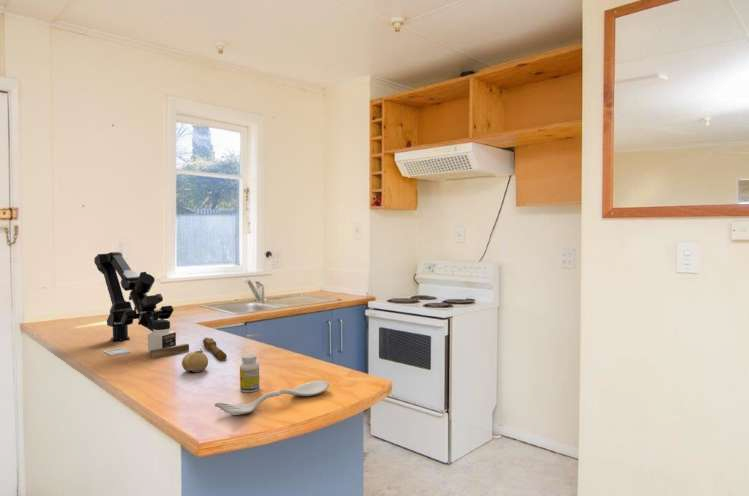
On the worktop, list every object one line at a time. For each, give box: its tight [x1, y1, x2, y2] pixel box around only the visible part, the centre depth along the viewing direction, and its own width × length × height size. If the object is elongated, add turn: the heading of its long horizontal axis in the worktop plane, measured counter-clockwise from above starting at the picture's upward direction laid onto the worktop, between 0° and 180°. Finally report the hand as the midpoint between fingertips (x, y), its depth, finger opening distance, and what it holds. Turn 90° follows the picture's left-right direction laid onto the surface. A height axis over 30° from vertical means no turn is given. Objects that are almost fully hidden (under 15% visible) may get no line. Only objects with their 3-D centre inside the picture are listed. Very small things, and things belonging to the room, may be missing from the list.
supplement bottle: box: [239, 354, 261, 394], centre depth 142 cm, size 5×5×10 cm
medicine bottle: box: [147, 319, 177, 353], centre depth 188 cm, size 7×7×12 cm
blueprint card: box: [102, 347, 131, 356], centre depth 188 cm, size 10×7×1 cm
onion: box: [181, 348, 209, 374], centre depth 162 cm, size 8×8×7 cm
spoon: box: [214, 380, 330, 416], centre depth 132 cm, size 9×32×4 cm, turn 135°
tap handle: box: [202, 337, 228, 362], centre depth 188 cm, size 3×3×30 cm
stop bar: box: [149, 343, 190, 359], centre depth 184 cm, size 2×14×2 cm, turn 141°
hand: (156, 331), depth 191 cm, fingers closed
